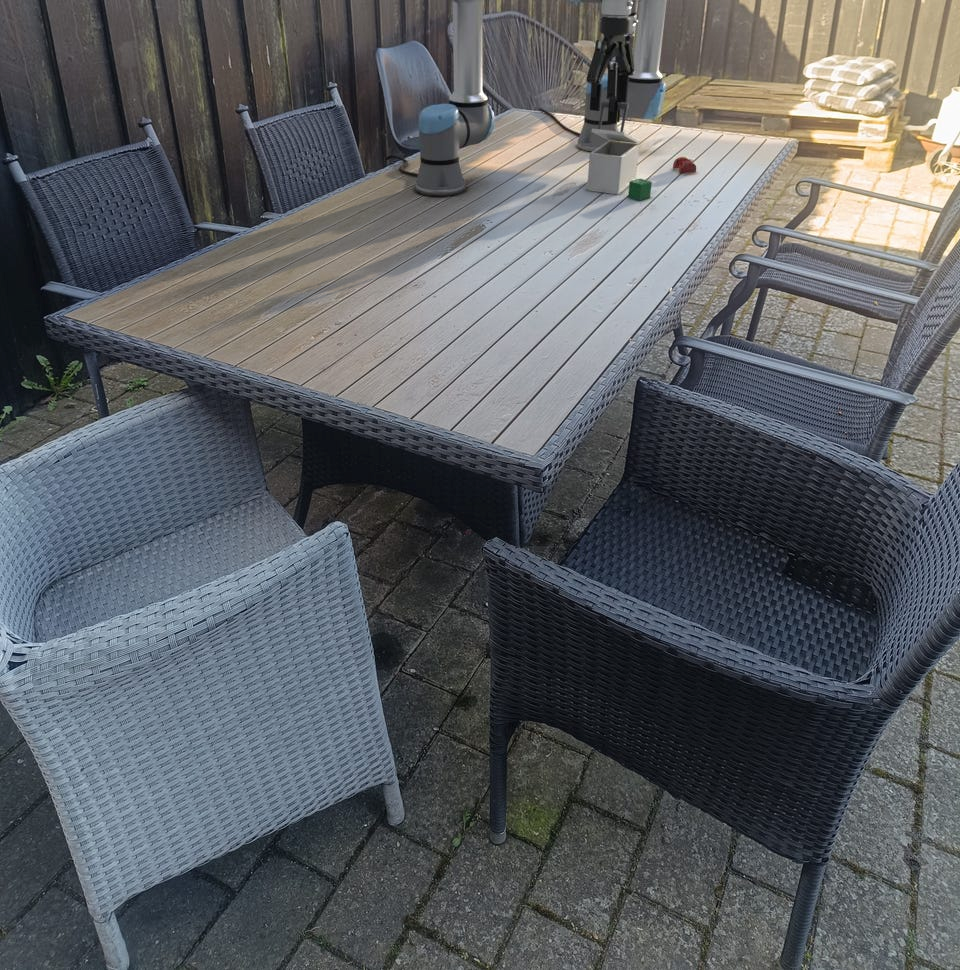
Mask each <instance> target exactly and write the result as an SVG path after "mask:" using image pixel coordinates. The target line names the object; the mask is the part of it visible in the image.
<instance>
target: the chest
mask: <svg viewBox="0 0 960 970" xmlns="http://www.w3.org/2000/svg"><path fill="white" fill-rule="evenodd" d="M639 153H640V143H639V144H637V143H629V142H618V141H610V140H609V141H607V142H606V143H604V144H603V145H601V146H600V147H598V148H597V149H595V150H594V151H592V152H589V158H588V159H589V160H588V171H587V172H588V173H587V186H586V191H590V192H597V193H604V194H605V193H606V194H610V195H620V194H621V193H622V192H623V191H624V190H625V189H627V188H629V183H630V181H633V180H637V173H638V162H639Z"/></svg>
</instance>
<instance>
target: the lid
mask: <svg viewBox="0 0 960 970" xmlns="http://www.w3.org/2000/svg"><path fill="white" fill-rule="evenodd" d="M601 107H602V109H601V114H600V120H599V126H598V129H592V131H591V132H593V133H595V134H597V135H599V136H601V137H603V138H605V139H607V140H611V141H620V142H627V143H635V144H639V145H640V143H641V140H639V139H638V138H636V137H634V136H632V135H630V134H628V133H627V132H625V131H624V130H625V129H624V128H625V122H626V119H627V118H626V113H627V110H628V108H629V104H626V103H619V106H618V109H621V110H624V114H623V117H622V120H621V125H620V130H618V131H619V132H618V131H609V130H601V125H602V119H603V114H604V108H609V102H606V101H602V103H601Z"/></svg>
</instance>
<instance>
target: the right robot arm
mask: <svg viewBox="0 0 960 970" xmlns="http://www.w3.org/2000/svg"><path fill="white" fill-rule="evenodd" d="M568 1H569V2H571V3H578V4H602V0H568ZM667 2H668V1H667V0H632V6H631V14H630V15H628V17H630V30H629V33H628V34H627V35H631V46H632V49H633V48H634V54H633V60H634V67H635V70H634V72H633V75H632V76H630V75H629V82H628V93H627V102H618V101H617V92H618V80H619V75H622V74H621V72H620V69H619V66H618V63H617V61H616V58H615V57H614V58H612V60H610V61H609V63H608V66H607V74H604V75H603V77H602V79H601V82H600V84H602V90H601V103H602V101H606V102H609V108H604V114H603V119H602V125H601V130H609V131H618V132H620V130H619V126H618V123H620V122H621V118H623V114H624V110H621V109H618V106H619V103H626V104H629V108H628V110H627V113H626V118H625V119H637V120H638V119H639V120H642V121H645V120H655V119H656V118H657V117H658V116H659V115H660V112H661V109H662V107H663V103H664V99H665V95H666V91H667V83H666V82H665V81H663V74H662V73H661V72H660V62H661V54H662V44H663V36H664V29H665V28H664V27H665V19H666V9H667ZM638 3H639V4H638ZM635 31H636V34H635V33H634V32H635ZM586 82H587V81H586ZM585 89H586V90H585V101H584V102H585V103H584V114H583V115H584V117H583V118H584V119H583V125H582V128H581V131H580V132H577V131H575V130H572V129H571V128H569V127H567V126H566V125H564V124H563V123H562V122H561V121H559V119H557V117H556V116H555V115H554V114H552V112H549V111H548V110H546V109H544V108H542V107H539V108H538V111H540V112H541V113H544V114H546V115H548V116H549V117H550V118H551V119H553V121H555V122H556V124H558V126H559V127H560V128H562V129H563V130H565V131H566V132H568V133H570V134H573V135H575V136H578V139H577V143H576V144H577V145H576V146H577V148H578V149H580V150H582V151H586V152H589V153H591V152H592V151H594V150H595V149H597V148H598V147H600V146H601V145H603V144H604V143H606V142H607V141H609V140H607V139H605V138H603V137H601V136H599V135H597V134H595V133H593V132H591V131H592V129H598V126H599V120H600V114H601V109H602V107H601V103H600V111H594V110H590V98H591V83H588V82H587V83H586V87H585ZM610 141H611V140H610ZM618 142H620V141H618Z"/></svg>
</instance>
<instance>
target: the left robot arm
mask: <svg viewBox="0 0 960 970" xmlns="http://www.w3.org/2000/svg"><path fill="white" fill-rule="evenodd" d="M483 1H484V0H451V3H452V4H451V5H452V54H453V58H452V59H453V60H452V61H453V92H452V94H451V95H450V96H449V97H448V103H438V104H431V105H428V106H426V107H424V108H423V109H422V110H421V111H420V112H419V114H418V115H419V116H418V126H417V127H418V137H419V138H418V139H419V157H420V158H419V159H420V161H419V162H420V164H419V168H418V172H412V171H407V170H405V169H404V168H406V167H407V166H408V165H409V161H408V160H407V159H406V158H404V157H402V156H400V155H397V154H389V155H388V156H386V157H385V160H386V161H389V160H390V159H397V160H399V161H402V162H403V164H401V165H400V166H399V168H398V170H399V172H400V173H402V174H403V175H407V176H411V177H415V178H416V180H415V183H414V184H415V185H414V186H415V192H417V193H418V194H420V195H424V196H430V197H450V196H455V195H459V194H461V193H463V192H464V191H466V181H465V179H464V176H463V172H462V169H461V165H460V149H463V148H467V147H470V146H474V145H475V146H476V145H479V144H480V143H482V142H484V141H486V140H487V139H488V138H489V137H490V136H491V135H492V133H493V131H494V128H495V123H496V117H495V113H494V110H492V106H491V105H490V104H489V103H488V96H487V95H486V94H485V93H484V91H483V16H484V15H483V14H484V13H483V8H484V7H483V3H484V2H483ZM631 6H632V0H602V3H601V8H600V9H601V10H600V14H601V18H600V24H599V33H600V34H602V35H603V39H596V40H595V45H594V50H593V55H592V58H591V61H590V65H589V67H588V71H587V75H586V78H585V79H586V82H588V83H591V98H590V110H594V111H600V103H601V90H602V84H600V82H601V79H602V77H603V75H605V72H606V70H607V69H608V67H607V66H608V63H609V62H610V60H612V58H614V57H615V58H616V61H617V63H618V66H619V69H620V72H621V74H622V75H619V80H618V92H617V101H618V102H627V93H628V82H629V75H630V76H632V75H633V72H634V70H635V67H634V54H633V48H632V46H631V35H627V34H628V33H629V30H630V17H628V15H630V14H631Z"/></svg>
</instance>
